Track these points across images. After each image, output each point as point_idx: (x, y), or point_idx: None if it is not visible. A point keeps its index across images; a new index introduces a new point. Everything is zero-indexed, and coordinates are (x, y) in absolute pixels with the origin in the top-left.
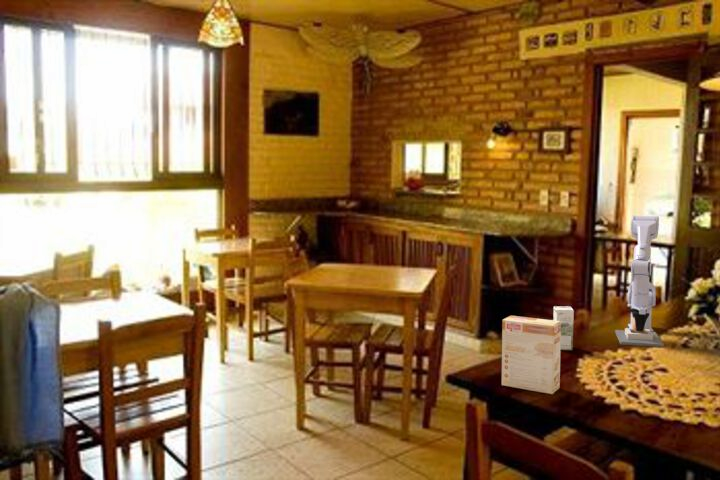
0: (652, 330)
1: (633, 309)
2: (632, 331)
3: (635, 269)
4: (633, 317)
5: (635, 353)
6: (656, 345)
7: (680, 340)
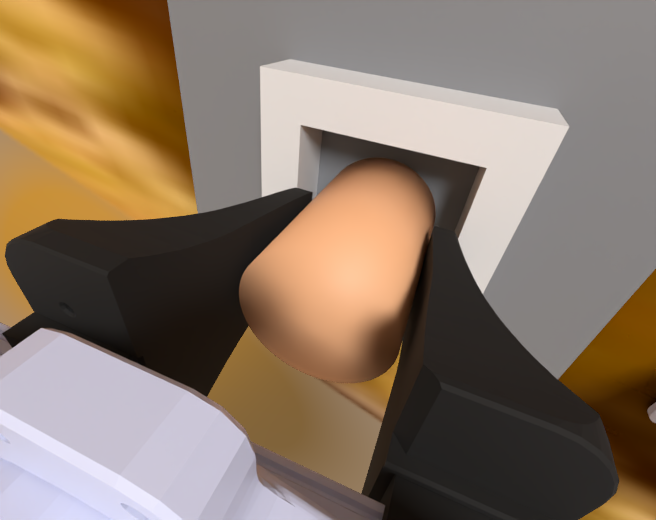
0: (650, 416)
1: (441, 444)
2: (472, 191)
3: None
4: (351, 272)
5: (7, 19)
6: None
7: (378, 402)
